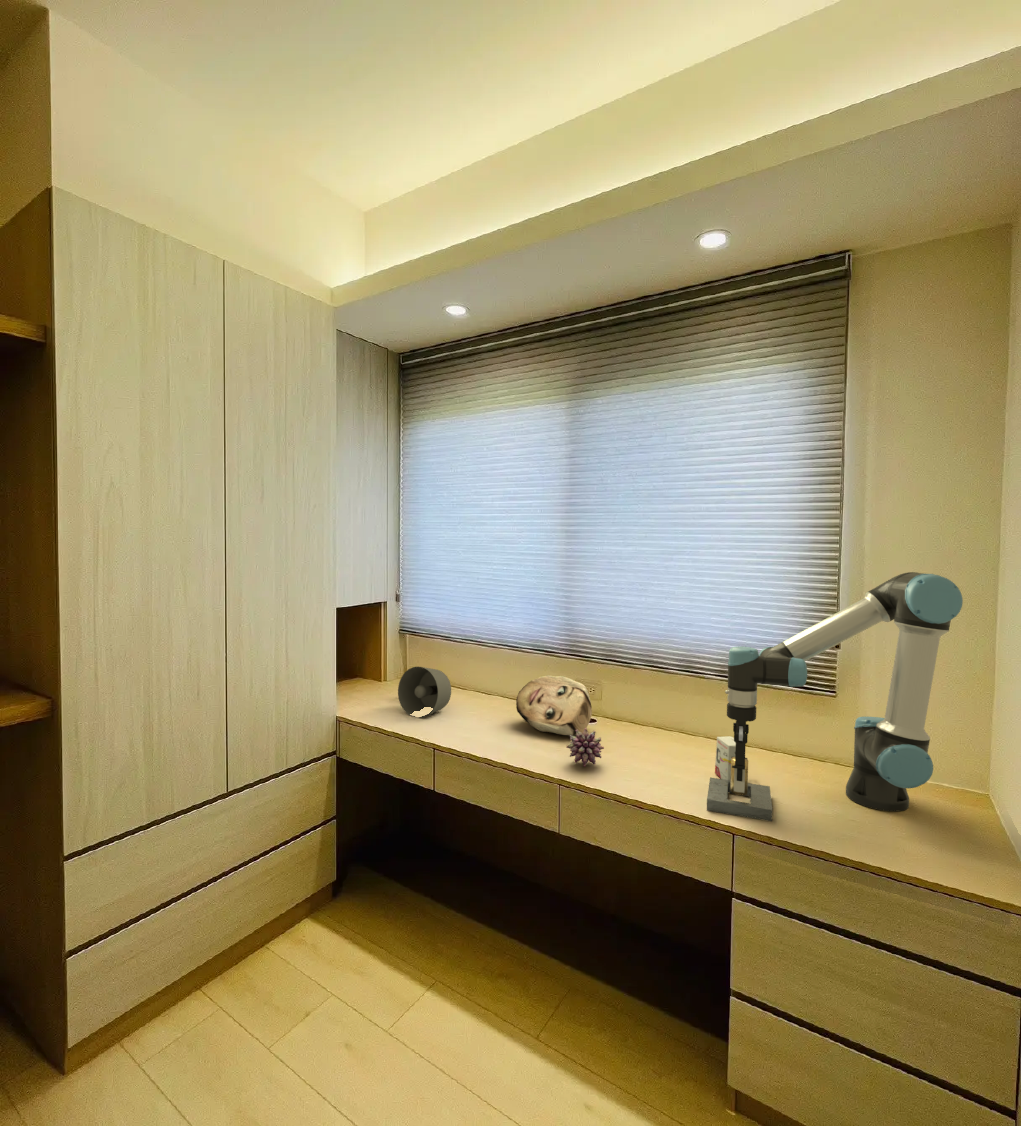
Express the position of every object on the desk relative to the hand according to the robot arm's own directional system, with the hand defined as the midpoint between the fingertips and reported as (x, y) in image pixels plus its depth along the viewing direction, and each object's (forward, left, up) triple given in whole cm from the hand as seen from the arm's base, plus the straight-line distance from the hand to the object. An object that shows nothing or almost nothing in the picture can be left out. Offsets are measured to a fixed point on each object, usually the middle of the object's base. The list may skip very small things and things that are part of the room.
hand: (739, 787), depth 161 cm
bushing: (0, 0, -1) cm, 1 cm away
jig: (0, 0, -4) cm, 4 cm away
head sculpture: (+67, -40, -5) cm, 78 cm away
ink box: (+3, -17, -5) cm, 18 cm away
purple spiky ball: (+46, -10, -5) cm, 47 cm away
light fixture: (+123, -47, -5) cm, 131 cm away
